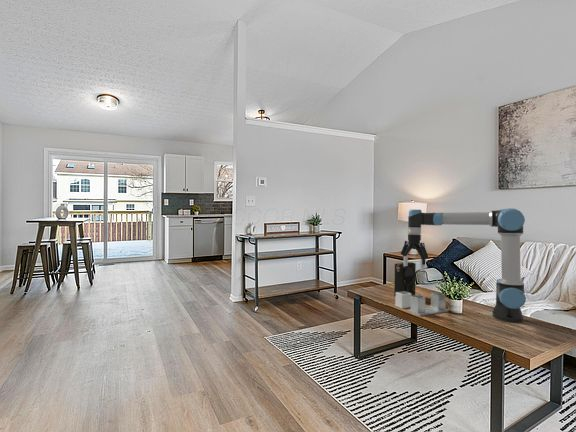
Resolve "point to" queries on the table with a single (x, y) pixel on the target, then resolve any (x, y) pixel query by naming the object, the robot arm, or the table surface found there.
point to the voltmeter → (405, 278)
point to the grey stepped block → (420, 309)
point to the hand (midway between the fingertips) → (413, 268)
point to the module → (403, 299)
